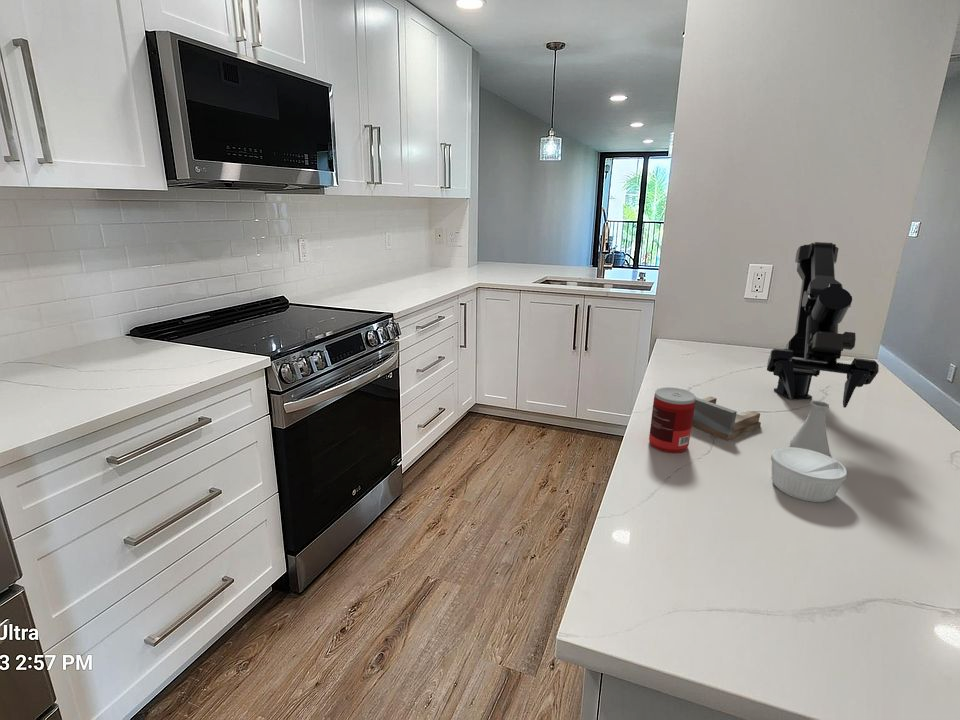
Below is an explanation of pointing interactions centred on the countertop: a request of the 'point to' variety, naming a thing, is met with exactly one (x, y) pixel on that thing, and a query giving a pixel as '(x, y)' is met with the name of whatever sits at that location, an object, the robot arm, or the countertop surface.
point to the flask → (813, 430)
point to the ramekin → (806, 474)
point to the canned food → (671, 419)
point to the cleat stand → (722, 419)
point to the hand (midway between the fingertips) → (818, 402)
